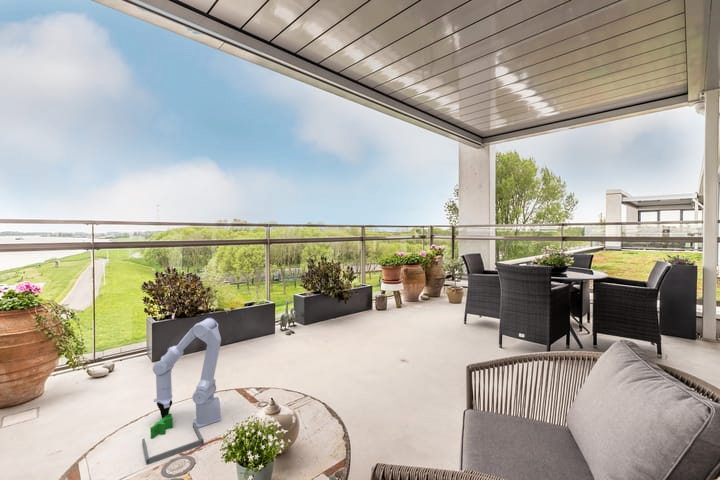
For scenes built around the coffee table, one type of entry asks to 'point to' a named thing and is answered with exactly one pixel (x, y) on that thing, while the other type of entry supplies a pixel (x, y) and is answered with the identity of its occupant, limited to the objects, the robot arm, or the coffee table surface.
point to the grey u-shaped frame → (173, 451)
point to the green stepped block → (162, 426)
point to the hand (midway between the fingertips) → (164, 418)
